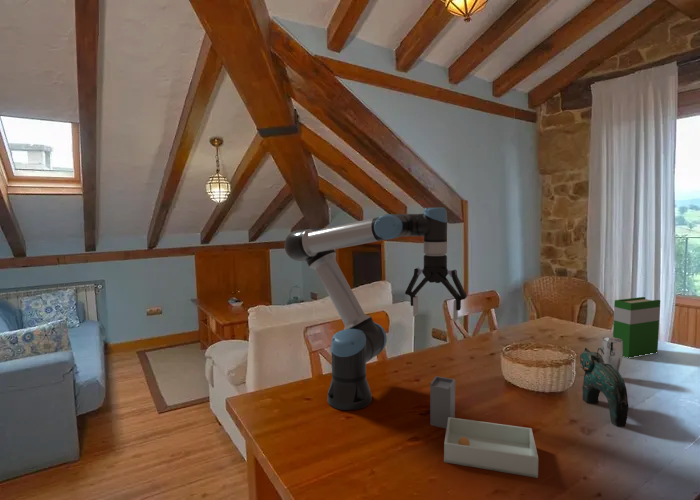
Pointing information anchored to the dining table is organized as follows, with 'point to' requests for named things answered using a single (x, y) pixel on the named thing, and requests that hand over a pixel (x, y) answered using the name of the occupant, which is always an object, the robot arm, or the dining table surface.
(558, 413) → the dining table surface
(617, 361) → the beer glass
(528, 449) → the tray
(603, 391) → the teal animal figurine
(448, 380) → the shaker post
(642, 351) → the hardback book
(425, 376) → the dining table surface
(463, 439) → the ball
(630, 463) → the dining table surface
